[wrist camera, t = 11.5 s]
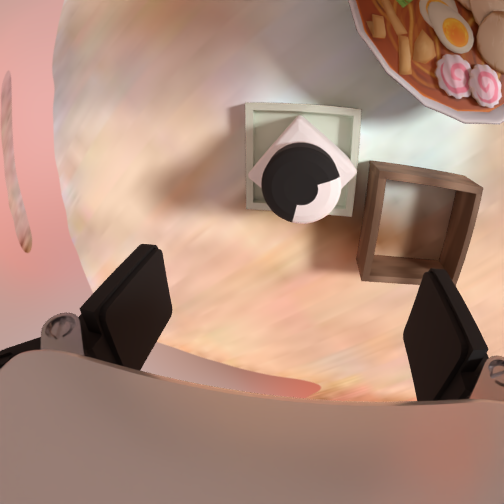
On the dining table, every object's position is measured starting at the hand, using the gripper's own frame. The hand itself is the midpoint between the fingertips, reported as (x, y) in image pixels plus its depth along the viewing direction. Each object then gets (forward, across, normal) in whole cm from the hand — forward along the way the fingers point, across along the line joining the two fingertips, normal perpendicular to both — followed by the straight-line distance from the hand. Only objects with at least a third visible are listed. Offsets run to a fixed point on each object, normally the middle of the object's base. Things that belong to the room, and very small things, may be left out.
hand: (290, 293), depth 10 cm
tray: (+26, 0, 0) cm, 26 cm away
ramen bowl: (+26, -15, -18) cm, 35 cm away
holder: (+26, -14, +6) cm, 30 cm away
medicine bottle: (+25, 0, 0) cm, 25 cm away
